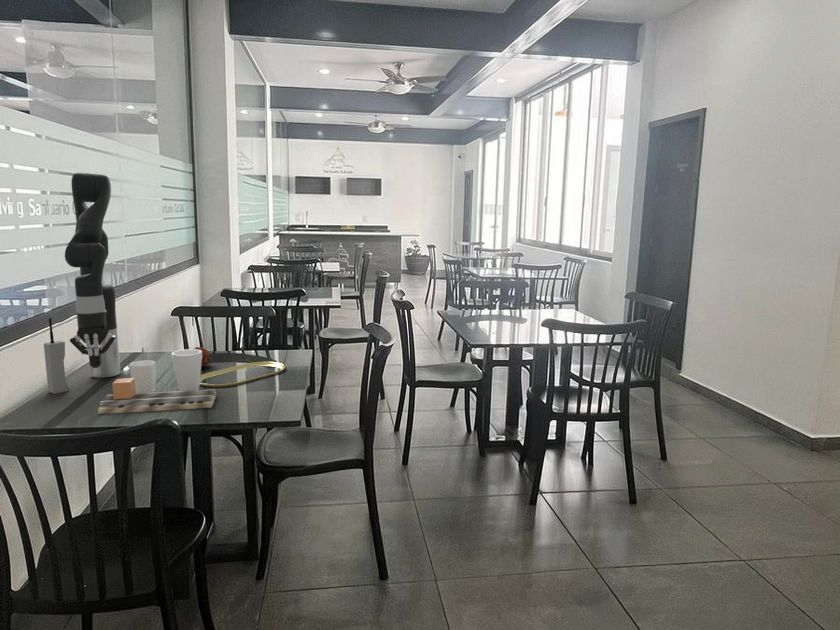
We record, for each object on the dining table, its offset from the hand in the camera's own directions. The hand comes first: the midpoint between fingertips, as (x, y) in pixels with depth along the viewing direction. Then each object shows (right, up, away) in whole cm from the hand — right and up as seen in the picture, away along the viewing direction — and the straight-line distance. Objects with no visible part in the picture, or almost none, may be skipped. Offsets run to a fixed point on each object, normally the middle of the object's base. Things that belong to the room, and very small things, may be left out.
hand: (96, 367), depth 181 cm
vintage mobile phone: (-23, -10, +19) cm, 31 cm away
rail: (+17, -12, +6) cm, 22 cm away
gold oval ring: (+32, -7, +40) cm, 52 cm away
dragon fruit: (+12, -5, +52) cm, 53 cm away
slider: (+7, -11, +3) cm, 13 cm away
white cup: (+6, -10, +19) cm, 22 cm away
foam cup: (+20, -10, +21) cm, 31 cm away
